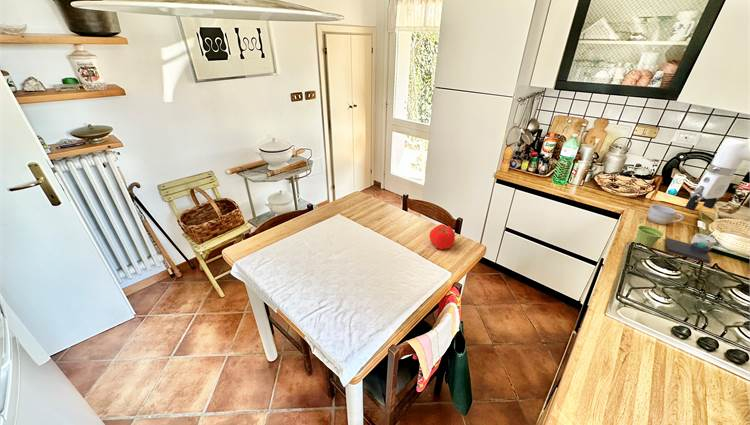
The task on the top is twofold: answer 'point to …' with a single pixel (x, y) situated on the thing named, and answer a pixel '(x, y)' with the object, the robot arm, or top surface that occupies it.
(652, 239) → the plant pot
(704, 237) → the bowl
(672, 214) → the teacup
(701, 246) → the tare button
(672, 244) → the scale
